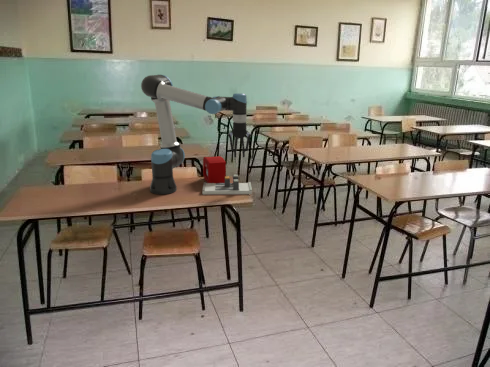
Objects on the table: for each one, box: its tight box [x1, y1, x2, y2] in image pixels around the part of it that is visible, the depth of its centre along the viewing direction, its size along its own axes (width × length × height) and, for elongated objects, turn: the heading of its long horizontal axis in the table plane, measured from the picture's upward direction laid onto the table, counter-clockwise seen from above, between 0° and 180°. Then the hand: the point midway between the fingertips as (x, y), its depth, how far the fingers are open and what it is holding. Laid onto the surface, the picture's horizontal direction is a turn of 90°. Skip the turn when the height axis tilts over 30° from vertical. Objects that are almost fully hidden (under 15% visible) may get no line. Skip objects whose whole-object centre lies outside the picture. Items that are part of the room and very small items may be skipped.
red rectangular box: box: [202, 155, 227, 183], centre depth 249 cm, size 16×11×15 cm
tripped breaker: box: [225, 175, 231, 187], centre depth 233 cm, size 3×3×5 cm
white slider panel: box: [202, 174, 253, 195], centre depth 233 cm, size 28×15×8 cm, turn 93°
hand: (239, 162), depth 230 cm, fingers open, 2 cm apart
